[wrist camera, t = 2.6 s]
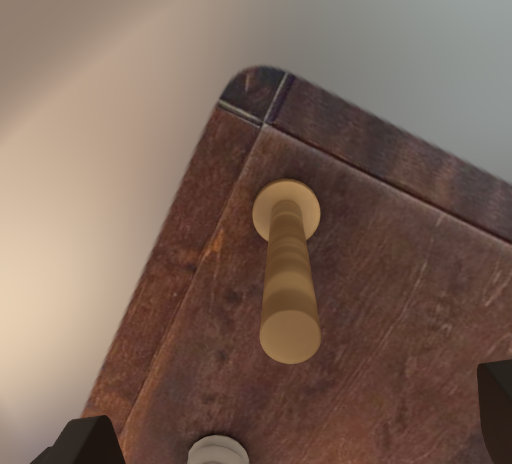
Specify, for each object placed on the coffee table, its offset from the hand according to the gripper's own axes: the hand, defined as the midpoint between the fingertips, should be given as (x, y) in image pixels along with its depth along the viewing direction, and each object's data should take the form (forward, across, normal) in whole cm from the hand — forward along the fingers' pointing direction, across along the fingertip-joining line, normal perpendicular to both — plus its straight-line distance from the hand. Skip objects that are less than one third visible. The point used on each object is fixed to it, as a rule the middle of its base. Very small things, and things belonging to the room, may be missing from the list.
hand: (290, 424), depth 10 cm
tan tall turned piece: (+19, 0, 0) cm, 19 cm away
